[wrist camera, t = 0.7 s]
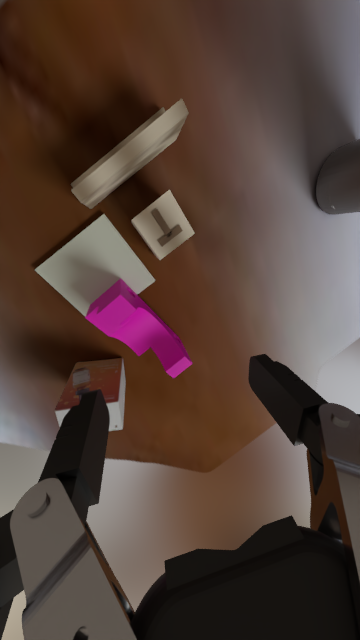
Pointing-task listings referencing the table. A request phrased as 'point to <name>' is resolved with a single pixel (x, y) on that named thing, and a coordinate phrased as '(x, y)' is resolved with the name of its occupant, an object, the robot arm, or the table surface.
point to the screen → (130, 155)
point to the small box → (92, 378)
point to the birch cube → (163, 225)
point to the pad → (94, 265)
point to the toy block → (137, 326)
